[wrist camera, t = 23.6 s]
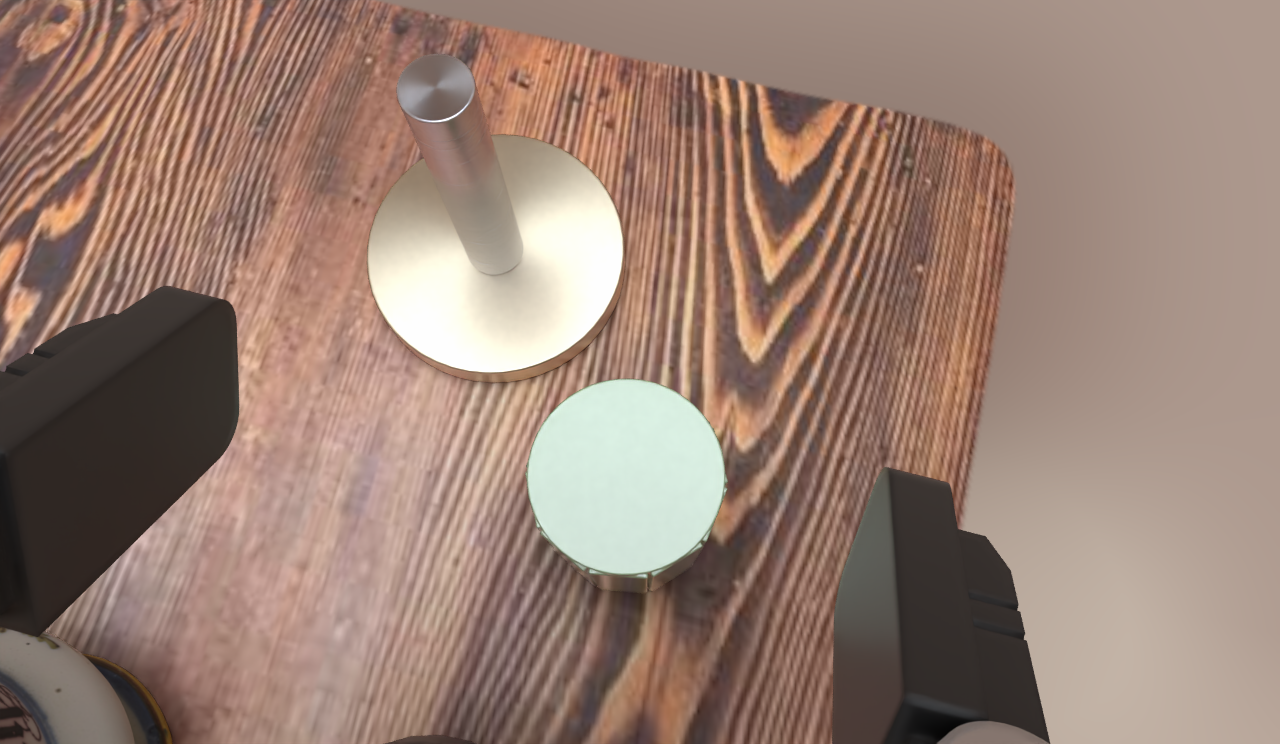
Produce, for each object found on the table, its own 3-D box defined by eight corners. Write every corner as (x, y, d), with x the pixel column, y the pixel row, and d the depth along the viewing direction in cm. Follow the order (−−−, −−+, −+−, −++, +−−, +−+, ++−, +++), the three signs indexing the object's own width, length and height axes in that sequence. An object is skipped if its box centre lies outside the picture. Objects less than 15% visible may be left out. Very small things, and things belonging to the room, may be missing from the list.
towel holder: (594, 127, 45) (573, -95, 32) (651, 350, 42) (654, 209, 29) (357, 178, 44) (232, -27, 31) (398, 409, 42) (279, 293, 28)
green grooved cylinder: (685, 417, 41) (696, 355, 33) (726, 573, 40) (749, 552, 31) (537, 452, 41) (507, 399, 32) (571, 611, 39) (550, 600, 31)
